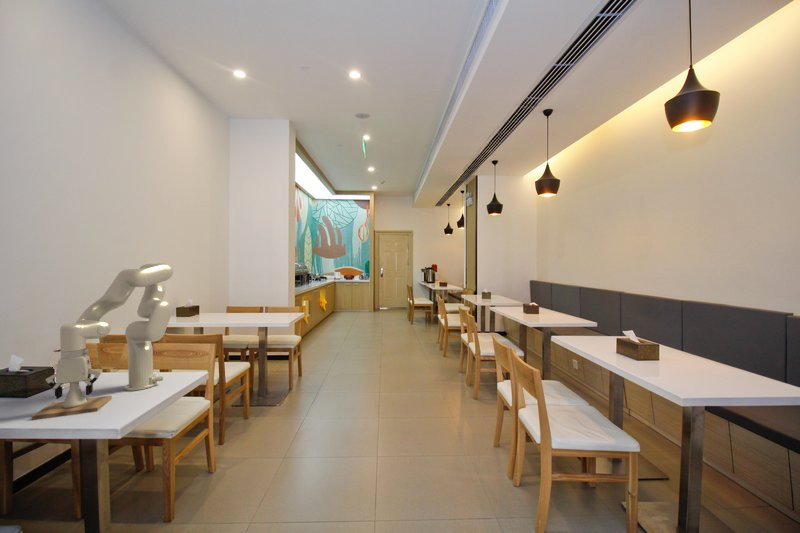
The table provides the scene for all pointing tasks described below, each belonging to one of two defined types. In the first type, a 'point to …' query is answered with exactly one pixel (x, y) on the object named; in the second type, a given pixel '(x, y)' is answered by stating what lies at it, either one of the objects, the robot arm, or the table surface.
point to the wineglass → (54, 362)
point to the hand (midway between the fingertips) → (74, 395)
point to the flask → (74, 396)
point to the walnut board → (58, 410)
